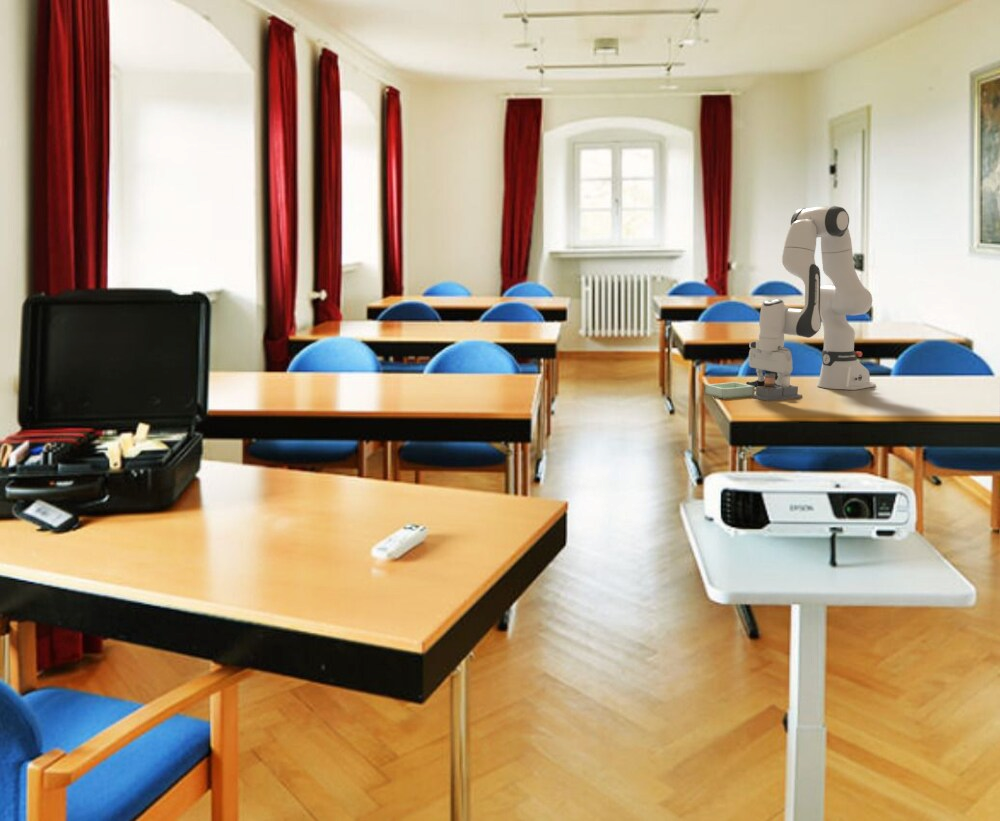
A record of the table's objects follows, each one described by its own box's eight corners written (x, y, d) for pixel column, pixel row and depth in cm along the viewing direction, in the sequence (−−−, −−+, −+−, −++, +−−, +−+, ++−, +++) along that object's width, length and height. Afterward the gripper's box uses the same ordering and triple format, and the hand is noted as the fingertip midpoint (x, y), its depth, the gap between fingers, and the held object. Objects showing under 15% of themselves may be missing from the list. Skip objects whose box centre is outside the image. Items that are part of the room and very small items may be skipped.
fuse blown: (769, 394, 373) (770, 372, 371) (776, 395, 369) (777, 374, 368) (761, 395, 371) (762, 373, 370) (768, 396, 368) (769, 374, 366)
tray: (735, 391, 385) (735, 382, 385) (754, 395, 376) (754, 386, 375) (705, 394, 380) (705, 384, 379) (723, 398, 370) (723, 389, 369)
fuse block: (785, 393, 379) (786, 383, 378) (802, 397, 371) (802, 386, 370) (751, 397, 373) (751, 386, 372) (767, 401, 365) (767, 390, 364)
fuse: (784, 392, 376) (785, 371, 374) (791, 394, 372) (792, 372, 371) (776, 393, 374) (777, 372, 373) (783, 395, 371) (784, 373, 369)
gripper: (797, 347, 359) (796, 386, 361) (760, 341, 377) (758, 378, 380) (783, 348, 356) (781, 387, 359) (746, 342, 374) (744, 379, 377)
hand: (769, 382), depth 369 cm, fingers open, 8 cm apart
